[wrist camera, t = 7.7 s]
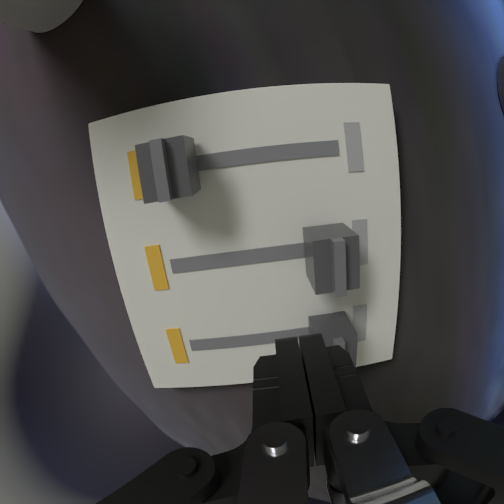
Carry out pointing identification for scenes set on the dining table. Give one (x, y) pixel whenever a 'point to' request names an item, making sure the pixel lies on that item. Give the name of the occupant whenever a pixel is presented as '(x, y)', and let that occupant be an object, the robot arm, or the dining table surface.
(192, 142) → the front switch
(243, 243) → the switch panel
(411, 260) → the dining table surface
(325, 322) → the back switch
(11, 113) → the dining table surface
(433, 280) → the dining table surface
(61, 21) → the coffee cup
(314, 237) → the middle switch
